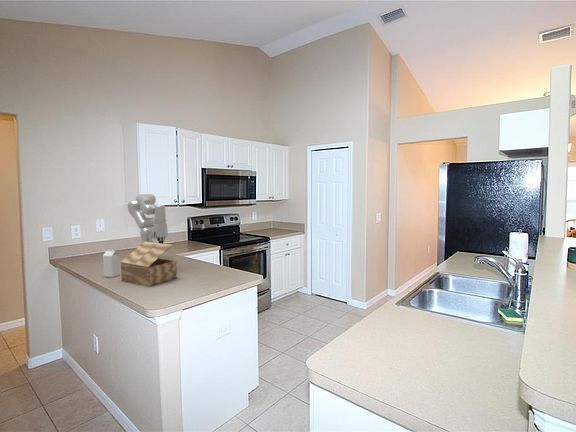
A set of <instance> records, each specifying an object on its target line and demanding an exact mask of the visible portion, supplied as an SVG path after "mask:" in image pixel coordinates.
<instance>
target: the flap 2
mask: <svg viewBox="0 0 576 432" xmlns="http://www.w3.org/2000/svg"><path fill="white" fill-rule="evenodd" d="M157 243H158V244H157V245H155V246H154V247H153V248H152V249H151V250H150V251H149V252H147V253H146V254H145V255H144V256H143V257H142V258H141V259H140V260H138V261H137V262H136V263H135V264H134V265H138V266H144V267H149V266H150V265H151V264H152V263H154V262H155V261H156V260H157V259H158V258H161V256H162V255H163V254H165V252H166V251H168V250H169V249H170V248H171V247H172V246H173V245H172V244H168V243H163V244H161V243H159V242H157Z"/></svg>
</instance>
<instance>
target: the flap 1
mask: <svg viewBox="0 0 576 432" xmlns="http://www.w3.org/2000/svg"><path fill="white" fill-rule="evenodd" d="M153 242H154V241H153ZM153 242H144V243H143V244H142V243H141V244H140V245H139V246H138V247H136V248H135V249H134V250H133V251H132V252H131V253H130V254H128V255H127V256H126V257H124V259H122V260H121V261H120V264H121V263H127V264H133V265H134V264H135V263H136V262H137V261H138V260H140V259H141V258H142V257H143V256H144V255H145V254H146V253H147V252H149V251H150V250H151V249H152V248H153V247H154V246H155V245H157V244H158V243H159V242H154V243H153Z"/></svg>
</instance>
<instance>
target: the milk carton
mask: <svg viewBox="0 0 576 432" xmlns="http://www.w3.org/2000/svg"><path fill="white" fill-rule="evenodd" d="M102 262H103V264H102V265H103V268H102V269H103V277H105V278H106V277H107V278H114V277H117V276H120V275H121V273H120V272H121V271H120V270H121V267H120V254H119V253H118V252H117V251H116V249H113V248H112V249H108V248H107V249H106V250H105V252H104V254H103V255H102Z"/></svg>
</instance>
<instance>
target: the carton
mask: <svg viewBox="0 0 576 432" xmlns="http://www.w3.org/2000/svg"><path fill="white" fill-rule="evenodd" d="M120 270H121V271H120V272H121V273H120V275H121V281H122V282H123V281H124V282H128V283H132V284H137V285H142V286H144V287H145V286H146V287H153V286H156V285H158V284H162V283H164V282H167V281H171V280H174V279H178V277H177V273H178V272H177V260H172V259H166V258H161V257H159V258H158V259H157V260H156V261H155V262H154V263H152V264H151V265H150V266H149V267H144V266H138V265H133V264H127V263H121V262H120Z"/></svg>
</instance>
